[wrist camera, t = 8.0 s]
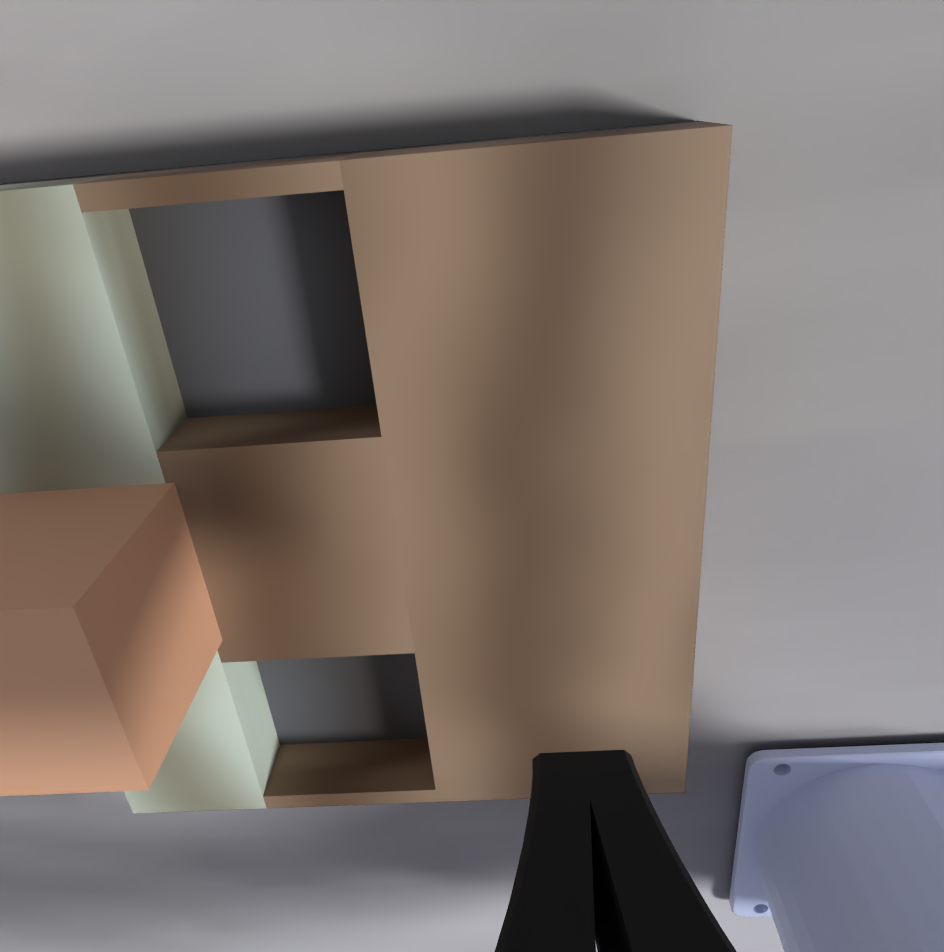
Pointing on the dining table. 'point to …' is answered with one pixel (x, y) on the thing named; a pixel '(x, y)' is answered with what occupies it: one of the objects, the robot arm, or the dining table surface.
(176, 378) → the board
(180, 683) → the terracotta cube
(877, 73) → the dining table surface
